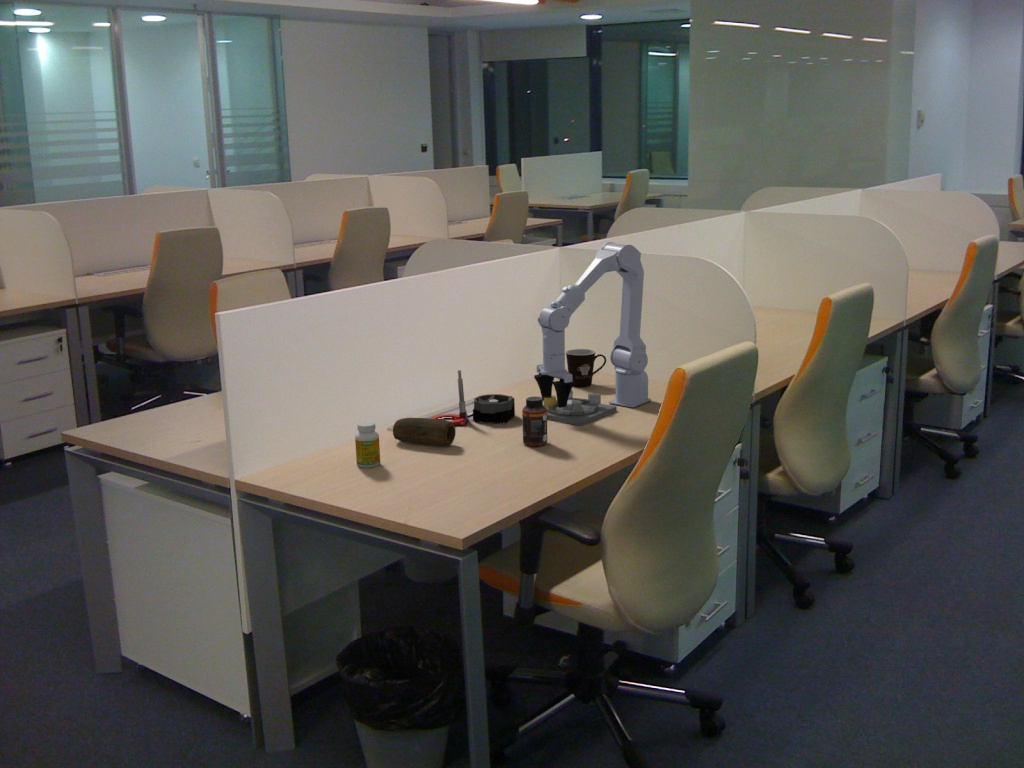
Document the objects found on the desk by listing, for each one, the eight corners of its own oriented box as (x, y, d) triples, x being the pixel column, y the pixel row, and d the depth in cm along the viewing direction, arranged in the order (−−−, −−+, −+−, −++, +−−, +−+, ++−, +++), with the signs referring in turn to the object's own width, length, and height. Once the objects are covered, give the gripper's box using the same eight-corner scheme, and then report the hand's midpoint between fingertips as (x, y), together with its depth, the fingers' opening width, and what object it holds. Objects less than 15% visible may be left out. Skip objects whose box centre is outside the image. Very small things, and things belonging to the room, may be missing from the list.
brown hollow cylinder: (458, 442, 242) (458, 416, 240) (447, 451, 236) (446, 424, 234) (403, 437, 247) (402, 411, 245) (390, 445, 241) (389, 419, 239)
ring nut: (540, 402, 271) (539, 390, 270) (594, 399, 272) (594, 387, 272) (548, 417, 256) (548, 404, 255) (606, 414, 258) (606, 401, 257)
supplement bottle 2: (552, 444, 238) (551, 399, 236) (531, 449, 235) (530, 402, 233) (539, 438, 243) (538, 393, 241) (518, 442, 240) (517, 397, 238)
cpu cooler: (468, 401, 257) (481, 392, 266) (468, 423, 258) (481, 412, 268) (506, 404, 254) (518, 394, 263) (506, 425, 255) (518, 415, 265)
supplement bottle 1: (361, 469, 223) (358, 428, 221) (353, 463, 228) (351, 422, 226) (384, 465, 226) (381, 424, 223) (375, 459, 231) (373, 419, 228)
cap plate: (564, 401, 276) (564, 391, 276) (616, 410, 266) (616, 399, 265) (527, 415, 263) (527, 404, 263) (580, 425, 253) (580, 414, 252)
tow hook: (426, 429, 255) (465, 427, 254) (421, 376, 252) (460, 374, 251) (431, 419, 264) (468, 417, 263) (426, 368, 261) (464, 366, 260)
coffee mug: (564, 388, 290) (564, 355, 288) (567, 381, 299) (567, 348, 296) (604, 389, 289) (604, 355, 286) (606, 382, 297) (606, 349, 294)
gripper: (526, 350, 262) (527, 400, 266) (555, 360, 250) (556, 412, 253) (549, 347, 266) (549, 396, 269) (579, 356, 253) (579, 408, 257)
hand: (554, 403), depth 261 cm, fingers open, 7 cm apart
